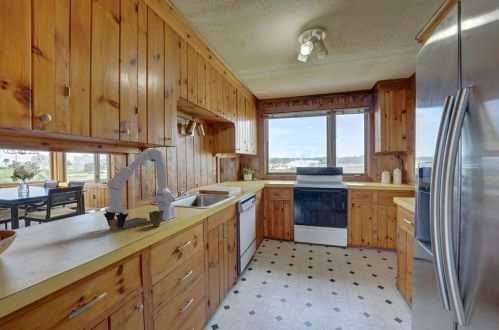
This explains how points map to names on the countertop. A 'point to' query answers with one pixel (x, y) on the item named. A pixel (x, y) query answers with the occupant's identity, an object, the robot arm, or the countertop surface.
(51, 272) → the countertop surface
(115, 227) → the walnut block
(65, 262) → the countertop surface
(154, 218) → the cup
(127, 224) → the channel
